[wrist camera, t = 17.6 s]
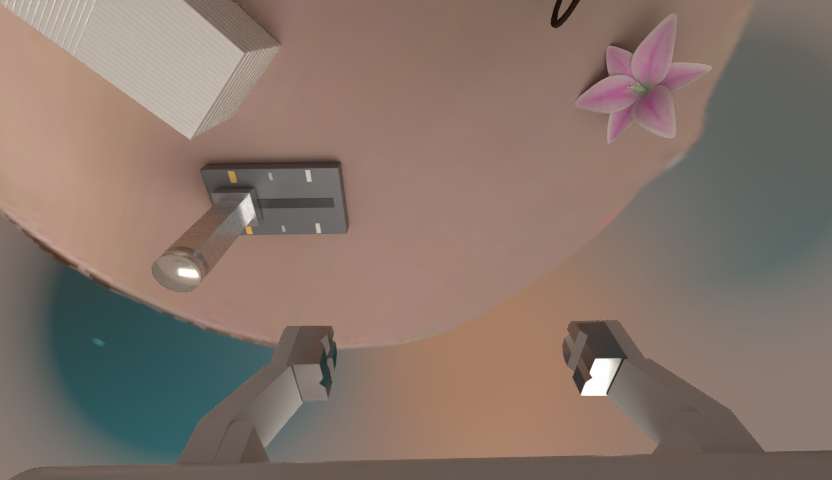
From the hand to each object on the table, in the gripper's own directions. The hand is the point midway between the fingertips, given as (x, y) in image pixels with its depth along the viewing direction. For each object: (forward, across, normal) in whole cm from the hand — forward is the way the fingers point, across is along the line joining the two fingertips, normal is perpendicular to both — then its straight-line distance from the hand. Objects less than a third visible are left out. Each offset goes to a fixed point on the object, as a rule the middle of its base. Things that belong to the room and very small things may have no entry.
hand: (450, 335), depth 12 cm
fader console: (+37, +20, +12) cm, 44 cm away
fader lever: (+35, +25, +12) cm, 44 cm away
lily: (+37, -24, -3) cm, 45 cm away
